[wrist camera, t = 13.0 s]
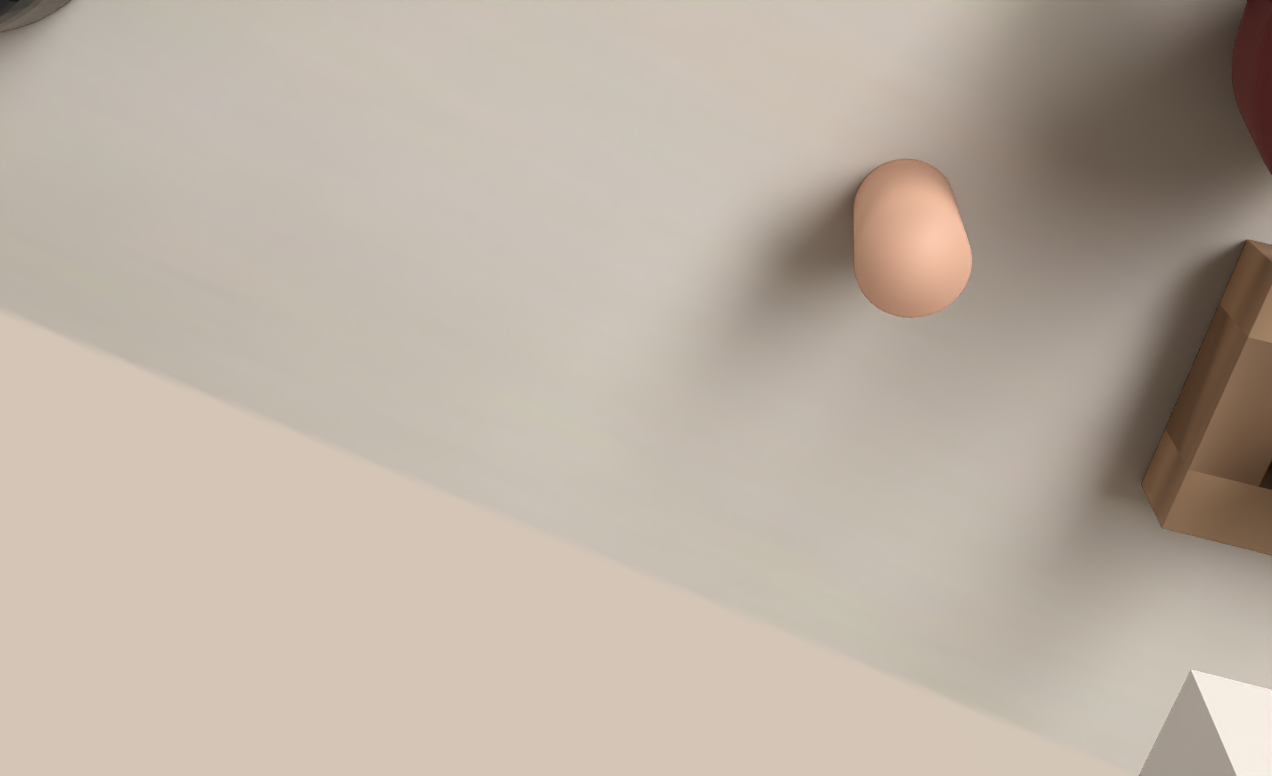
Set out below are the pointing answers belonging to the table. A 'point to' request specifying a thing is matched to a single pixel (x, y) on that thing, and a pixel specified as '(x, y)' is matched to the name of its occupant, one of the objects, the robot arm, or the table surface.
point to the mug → (1255, 74)
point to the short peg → (909, 240)
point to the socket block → (1224, 422)
